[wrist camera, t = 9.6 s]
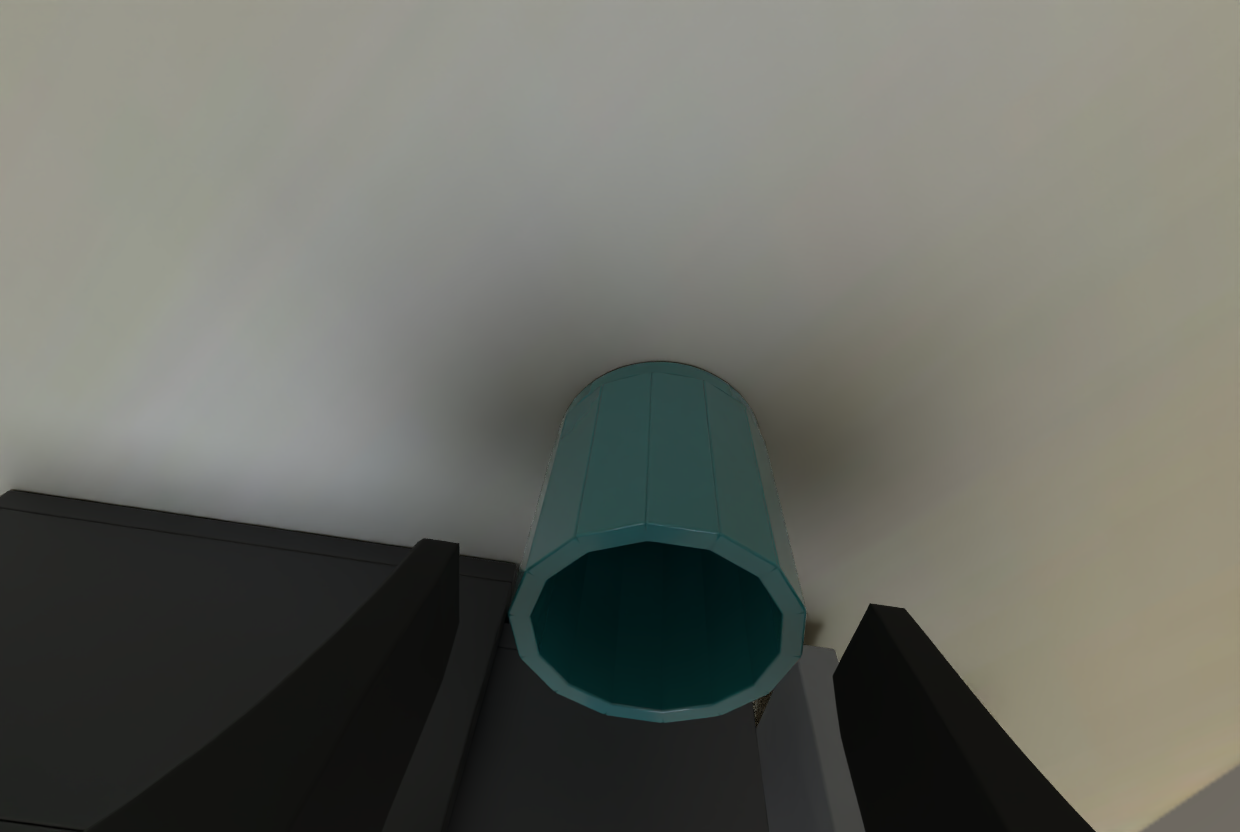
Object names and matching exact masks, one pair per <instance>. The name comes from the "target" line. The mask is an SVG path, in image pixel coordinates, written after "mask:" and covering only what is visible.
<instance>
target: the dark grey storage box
mask: <svg viewBox="0 0 1240 832" xmlns="http://www.w3.org/2000/svg"><path fill="white" fill-rule="evenodd" d="M410 551H411V549H409V548H402V547H395V546H388V545H381V544H375V543H368V542H361V541H354V540H347V539H340V538H333V537H327V536H320V535H313V534H306V533H299V532H292V531H285V530H279V529H272V528H265V527H258V526H251V525H244V524H238V523H231V522H224V521H217V520H210V519H203V518H196V517H190V516H183V515H176V514H169V513H162V512H155V511H148V510H142V509H135V508H128V507H121V506H114V505H107V504H101V503H94V502H87V501H80V500H73V499H66V498H59V497H53V496H46V495H39V494H32V493H25V492H18V491H11V490H10V491H7V492H6V493H5V494H3V495H2V496H0V832H83V831H84V830H86V829H87V828H89V827H90V826H92V825H93V824H95V823H96V822H98V821H99V820H101V819H102V818H104V817H105V816H107V815H108V814H110V813H111V812H113V811H114V810H116V809H117V808H119V807H120V806H121V805H123V804H124V803H126V802H127V801H128V800H130V799H131V798H133V797H134V796H136V795H137V794H138V793H140V792H141V791H142V790H144V789H145V788H147V787H148V786H149V785H151V784H152V783H154V782H155V781H156V780H158V779H159V778H160V777H162V776H163V775H164V774H166V773H167V772H168V771H170V770H171V769H172V768H174V767H175V766H176V765H178V764H179V763H180V762H182V761H183V760H184V759H186V758H187V757H188V756H190V755H191V754H192V753H194V752H195V751H196V750H198V749H199V748H200V747H202V746H203V745H204V744H206V743H207V742H208V741H209V740H211V739H212V738H213V737H214V736H216V735H217V734H218V733H219V732H221V731H222V730H223V729H224V728H226V727H227V726H228V725H229V724H231V723H232V722H233V721H234V720H236V719H237V718H238V717H239V716H241V715H242V714H243V713H244V712H245V711H247V710H248V709H249V708H250V707H251V706H253V705H254V704H255V703H256V702H257V701H259V700H260V699H261V698H262V697H263V696H264V695H266V694H267V693H268V692H269V691H270V690H271V689H273V688H274V687H275V686H276V685H277V684H278V683H279V682H280V681H282V680H283V679H284V678H285V677H286V676H287V675H288V674H289V673H290V672H291V671H293V670H294V669H295V668H296V667H297V666H298V665H299V664H300V663H301V662H302V661H303V660H305V659H306V658H307V657H308V656H309V655H310V654H311V653H312V652H313V651H314V650H315V649H317V648H318V647H319V646H320V645H321V644H322V643H323V642H324V641H325V640H326V639H327V638H328V637H329V636H330V635H331V634H332V633H333V632H334V631H335V630H336V629H337V628H338V627H339V626H340V625H341V624H342V623H343V622H344V621H345V620H346V619H347V618H348V617H349V616H350V615H351V614H352V613H353V612H354V611H355V610H356V609H357V608H358V607H359V606H360V605H361V604H362V603H363V602H364V601H365V600H366V599H367V598H368V597H369V596H370V595H371V594H372V593H373V592H374V591H375V589H376V588H377V587H378V586H379V585H380V584H381V583H382V582H383V581H384V580H385V579H386V578H387V577H388V576H389V574H390V573H391V572H392V571H393V570H394V569H395V568H396V567H397V566H398V564H399V563H400V562H401V561H402V560H403V559H404V558H405V556H406V555H407V554H408V553H409V552H410ZM516 570H517V565H516V564H512V563H505V562H498V561H491V560H484V559H477V558H470V557H464V556H459V626H458V629H457V633H456V636H455V640H454V643H453V647H452V651H451V654H450V657H449V661H448V664H447V668H446V671H445V674H444V678H443V681H442V683H441V686H440V688H439V691H438V693H437V696H436V698H435V701H434V703H433V706H432V708H431V711H430V713H429V716H428V718H427V721H426V723H425V726H424V728H423V731H422V733H421V735H420V738H419V740H418V743H417V745H416V748H415V750H414V753H413V755H412V758H411V760H410V762H409V765H408V767H407V770H406V772H405V775H404V777H403V780H402V782H401V785H400V787H399V789H398V792H397V794H396V797H395V799H394V802H393V804H392V807H391V809H390V811H389V814H388V817H387V819H386V822H385V825H384V828H383V830H382V832H447V828H448V824H449V821H450V817H451V814H452V810H453V806H454V803H455V799H456V795H457V792H458V788H459V785H460V781H461V777H462V774H463V770H464V767H465V763H466V759H467V756H468V752H469V748H470V745H471V741H472V738H473V734H474V730H475V727H476V723H477V719H478V716H479V712H480V709H481V705H482V701H483V698H484V694H485V690H486V687H487V683H488V680H489V676H490V672H491V669H492V665H493V661H494V658H495V654H496V651H497V647H498V643H499V640H500V636H501V633H502V629H503V625H504V623H507V624H510V621H509V617H508V609H509V605H510V601H511V598H512V594H513V591H514V587H515V583H516Z"/></svg>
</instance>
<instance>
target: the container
mask: <svg viewBox="0 0 1240 832" xmlns="http://www.w3.org/2000/svg"><path fill="white" fill-rule="evenodd" d="M806 614H807V610H806V606H805V602H804V598H803V594H802V590H801V586H800V582H799V578H798V574H797V570H796V566H795V562H794V557H793V553H792V549H791V545H790V541H789V537H788V533H787V529H786V525H785V521H784V517H783V513H782V509H781V505H780V500H779V496H778V492H777V488H776V484H775V480H774V476H773V472H772V468H771V464H770V460H769V456H768V452H767V448H766V444H765V441H764V439H763V437H762V436H761V434H760V430H759V426H758V423H757V420H756V418H755V416H754V413H753V412H752V410H751V408H750V407H749V405H748V404H747V402H746V401H745V400H744V399H743V398H742V396H741V395H740V394H739V393H738V392H737V391H736V390H735V389H733V388H732V387H731V386H730V385H729V384H727V383H726V382H724V381H723V380H721V379H720V378H718V377H717V376H714V375H712V374H710V373H708V372H706V371H704V370H701V369H698V368H695V367H693V366H689V365H684V364H679V363H671V362H646V363H639V364H633V365H629V366H625V367H622V368H619V369H616V370H614V371H611V372H609V373H607V374H605V375H603V376H602V377H600V378H598V379H596V380H595V381H593V382H592V383H591V384H589V385H588V386H587V387H585V388H584V389H583V390H582V391H581V392H580V393H579V394H578V395H577V396H576V398H575V399H574V400H573V402H572V403H571V404H570V406H569V408H568V409H567V411H566V413H565V415H564V417H563V420H562V423H561V426H560V429H559V433H558V436H557V439H556V442H555V444H554V447H553V449H552V453H551V456H550V460H549V463H548V467H547V471H546V474H545V478H544V482H543V485H542V489H541V493H540V496H539V500H538V503H537V507H536V511H535V514H534V518H533V522H532V525H531V529H530V532H529V536H528V540H527V543H526V547H525V551H524V554H523V558H522V562H521V565H520V569H519V572H518V576H517V580H516V583H515V587H514V591H513V594H512V598H511V601H510V605H509V609H508V617H509V621H510V625H511V629H512V632H513V636H514V640H515V644H516V647H517V651H518V655H519V656H520V658H521V660H522V661H523V662H524V663H525V664H526V665H527V666H528V667H529V668H530V669H531V670H532V671H533V672H534V673H535V674H536V675H537V676H538V677H539V678H540V679H541V680H542V681H543V682H544V683H545V684H546V685H547V686H548V687H549V688H550V689H551V690H552V691H555V693H557V694H559V695H561V696H563V697H565V698H568V699H570V700H572V701H574V702H577V703H579V704H581V705H583V706H585V707H588V708H590V709H592V710H594V711H596V712H599V713H601V714H606V715H607V716H614V717H621V718H628V719H635V720H642V721H649V722H656V723H671V722H679V721H686V720H694V719H702V718H710V717H718V716H720V715H724V714H727V713H729V712H731V711H733V710H735V709H737V708H739V707H742V706H744V705H746V704H748V703H750V702H752V701H755V700H757V699H759V698H761V697H763V696H765V695H767V694H769V692H772V691H773V689H774V688H775V687H776V686H777V685H778V684H779V683H780V681H781V680H782V679H783V678H784V677H785V676H786V674H787V673H788V672H789V671H790V670H791V669H792V667H793V666H794V665H795V664H796V663H797V662H798V661H799V659H800V658H801V656H802V653H803V643H804V634H805V624H806Z"/></svg>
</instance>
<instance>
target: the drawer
mask: <svg viewBox="0 0 1240 832" xmlns="http://www.w3.org/2000/svg"><path fill="white" fill-rule="evenodd" d="M838 664H839V662H838V659H837V655H836V652H835V650H834V649H830V648H823V647H816V646H809V645H803V653H802V656H801V658H800V659H799V661H798V662H797V663H796V664H795V665H794V666H793V667H792V669H791V670H790V671H789V672H788V673H787V674H786V676H785V677H784V678H783V679H782V680H781V681H780V683H779V684H778V685H777V686H776V687H775V688H774V690H773V693H772V695H771V697H770V699H769V701H768V704H767V706H766V708H765V710H764V713H763V715H762V717H761V719H760V722H759V724H758V726H757V728H756V726H755V718H754V711H753V703H752V702H750V703H748V704H746V705H744V706H742V707H739V708H737V709H735V710H733V711H731V712H729V713H727V714H724V715H720V716H718V717H710V718H702V719H694V720H686V721H679V722H671V723H656V722H649V721H642V720H635V719H628V718H621V717H614V716H607V715H606V714H601V713H599V712H596V711H594V710H592V709H590V708H588V707H585V706H583V705H581V704H579V703H577V702H574V701H572V700H570V699H568V698H565V697H563V696H561V695H559V694H557V693H555V691H552V690H551V689H550V688H549V687H548V686H547V685H546V684H545V683H544V682H543V681H542V680H541V679H540V678H539V677H538V676H537V675H536V674H535V673H534V672H533V671H532V670H531V669H530V668H529V667H528V666H527V665H526V664H525V663H524V662H523V661H522V660H521V658H520V656H519V655H518V651H517V647H516V644H515V640H514V636H513V632H512V629H511V625H510V624H507V623H504V625H503V629H502V633H501V636H500V640H499V643H498V647H497V651H496V654H495V658H494V661H493V665H492V669H491V672H490V676H489V680H488V683H487V687H486V690H485V694H484V698H483V701H482V705H481V709H480V712H479V716H478V719H477V723H476V727H475V730H474V734H473V738H472V741H471V745H470V748H469V752H468V756H467V759H466V763H465V767H464V770H463V774H462V777H461V781H460V785H459V788H458V792H457V795H456V799H455V803H454V806H453V810H452V814H451V817H450V821H449V824H448V828H447V832H865V829H864V825H863V821H862V817H861V813H860V810H859V806H858V802H857V798H856V795H855V791H854V787H853V783H852V779H851V775H850V771H849V768H848V764H847V760H846V756H845V752H844V748H843V744H842V740H841V736H840V729H839V722H838V716H837V709H836V701H835V693H834V685H833V677H832V676H833V674H834V672H835V670H836V668H837V666H838Z"/></svg>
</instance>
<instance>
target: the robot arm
mask: <svg viewBox="0 0 1240 832" xmlns="http://www.w3.org/2000/svg"><path fill="white" fill-rule="evenodd" d="M458 626H459V543H453V542H446V541H439V540H433V539H426V538H424V539H422V540H420V541H419V542H417V544H416V545H415V546H414V547H413V548H412V549H411V551H410V552H409V553H408V554H407V555H406V556H405V558H404V559H403V560H402V561H401V562H400V563H399V564H398V566H397V567H396V568H395V569H394V570H393V571H392V572H391V573H390V574H389V576H388V577H387V578H386V579H385V580H384V581H383V582H382V583H381V584H380V585H379V586H378V587H377V588H376V589H375V591H374V592H373V593H372V594H371V595H370V596H369V597H368V598H367V599H366V600H365V601H364V602H363V603H362V604H361V605H360V606H359V607H358V608H357V609H356V610H355V611H354V612H353V613H352V614H351V615H350V616H349V617H348V618H347V619H346V620H345V621H344V622H343V623H342V624H341V625H340V626H339V627H338V628H337V629H336V630H335V631H334V632H333V633H332V634H331V635H330V636H329V637H328V638H327V639H326V640H325V641H324V642H323V643H322V644H321V645H320V646H319V647H318V648H317V649H315V650H314V651H313V652H312V653H311V654H310V655H309V656H308V657H307V658H306V659H305V660H303V661H302V662H301V663H300V664H299V665H298V666H297V667H296V668H295V669H294V670H293V671H291V672H290V673H289V674H288V675H287V676H286V677H285V678H284V679H283V680H282V681H280V682H279V683H278V684H277V685H276V686H275V687H274V688H273V689H271V690H270V691H269V692H268V693H267V694H266V695H264V696H263V697H262V698H261V699H260V700H259V701H257V702H256V703H255V704H254V705H253V706H251V707H250V708H249V709H248V710H247V711H245V712H244V713H243V714H242V715H241V716H239V717H238V718H237V719H236V720H234V721H233V722H232V723H231V724H229V725H228V726H227V727H226V728H224V729H223V730H222V731H221V732H219V733H218V734H217V735H216V736H214V737H213V738H212V739H211V740H209V741H208V742H207V743H206V744H204V745H203V746H202V747H200V748H199V749H198V750H196V751H195V752H194V753H192V754H191V755H190V756H188V757H187V758H186V759H184V760H183V761H182V762H180V763H179V764H178V765H176V766H175V767H174V768H172V769H171V770H170V771H168V772H167V773H166V774H164V775H163V776H162V777H160V778H159V779H158V780H156V781H155V782H154V783H152V784H151V785H149V786H148V787H147V788H145V789H144V790H142V791H141V792H140V793H138V794H137V795H136V796H134V797H133V798H131V799H130V800H128V801H127V802H126V803H124V804H123V805H121V806H120V807H119V808H117V809H116V810H114V811H113V812H111V813H110V814H108V815H107V816H105V817H104V818H102V819H101V820H99V821H98V822H96V823H95V824H93V825H92V826H90V827H89V828H87V829H86V830H84V831H83V832H382V830H383V828H384V825H385V822H386V819H387V817H388V814H389V811H390V809H391V807H392V804H393V802H394V799H395V797H396V794H397V792H398V789H399V787H400V785H401V782H402V780H403V777H404V775H405V772H406V770H407V767H408V765H409V762H410V760H411V758H412V755H413V753H414V750H415V748H416V745H417V743H418V740H419V738H420V735H421V733H422V731H423V728H424V726H425V723H426V721H427V718H428V716H429V713H430V711H431V708H432V706H433V703H434V701H435V698H436V696H437V693H438V691H439V688H440V686H441V683H442V681H443V678H444V674H445V671H446V668H447V664H448V661H449V657H450V654H451V651H452V647H453V643H454V640H455V636H456V633H457V629H458ZM832 677H833V685H834V693H835V701H836V709H837V716H838V722H839V729H840V736H841V740H842V744H843V748H844V752H845V756H846V760H847V764H848V768H849V771H850V775H851V779H852V783H853V787H854V791H855V795H856V798H857V802H858V806H859V810H860V813H861V817H862V821H863V825H864V829H865V832H1096V831H1095V830H1094V829H1093V828H1092V827H1091V826H1090V825H1089V824H1088V823H1087V822H1086V821H1085V820H1084V819H1083V818H1082V817H1081V816H1080V815H1079V814H1078V813H1077V812H1076V811H1075V810H1074V808H1073V807H1072V806H1071V805H1070V804H1069V803H1068V802H1067V801H1066V800H1065V799H1064V798H1063V796H1062V795H1061V794H1060V793H1059V792H1058V791H1057V790H1056V789H1055V788H1054V787H1053V785H1052V784H1051V783H1050V782H1049V781H1048V780H1047V779H1046V778H1045V777H1044V776H1043V774H1042V773H1041V772H1040V771H1039V770H1038V769H1037V768H1036V767H1035V766H1034V764H1033V763H1032V762H1031V761H1030V760H1029V759H1028V758H1027V756H1026V755H1025V754H1024V753H1023V752H1022V751H1021V750H1020V748H1019V747H1018V746H1017V745H1016V744H1015V743H1014V742H1013V740H1012V739H1011V738H1010V737H1009V736H1008V734H1007V733H1006V732H1005V731H1004V730H1003V729H1002V727H1001V726H1000V725H999V724H998V723H997V721H996V720H995V719H994V718H993V717H992V715H991V714H990V713H989V712H988V711H987V709H986V708H985V707H984V706H983V705H982V703H981V702H980V701H979V700H978V699H977V697H976V696H975V695H974V694H973V692H972V691H971V690H970V689H969V687H968V686H967V685H966V684H965V683H964V681H963V680H962V679H961V678H960V676H959V675H958V674H957V673H956V671H955V670H954V669H953V668H952V666H951V665H950V664H949V663H948V661H947V660H946V659H945V658H944V656H943V655H942V654H941V653H940V651H939V650H938V649H937V648H936V646H935V645H934V644H933V643H932V641H931V640H930V639H929V638H928V636H927V635H926V634H925V633H924V631H923V630H922V629H921V628H920V626H919V625H918V624H917V623H916V622H915V620H914V619H913V618H912V617H911V616H910V614H909V613H908V612H907V611H906V610H905V608H898V607H891V606H884V605H877V604H870V605H869V607H868V609H867V610H866V612H865V614H864V616H863V618H862V620H861V622H860V624H859V626H858V628H857V630H856V632H855V633H854V635H853V637H852V639H851V641H850V643H849V645H848V647H847V649H846V651H845V653H844V654H843V656H842V658H841V660H840V662H839V664H838V666H837V668H836V670H835V672H834V674H833V676H832Z"/></svg>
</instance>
